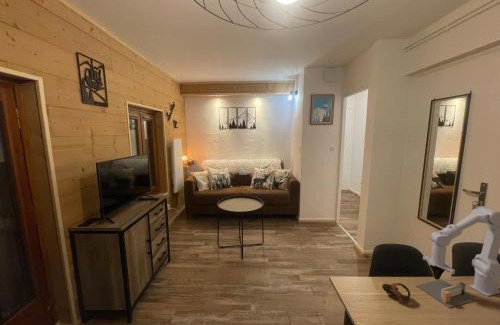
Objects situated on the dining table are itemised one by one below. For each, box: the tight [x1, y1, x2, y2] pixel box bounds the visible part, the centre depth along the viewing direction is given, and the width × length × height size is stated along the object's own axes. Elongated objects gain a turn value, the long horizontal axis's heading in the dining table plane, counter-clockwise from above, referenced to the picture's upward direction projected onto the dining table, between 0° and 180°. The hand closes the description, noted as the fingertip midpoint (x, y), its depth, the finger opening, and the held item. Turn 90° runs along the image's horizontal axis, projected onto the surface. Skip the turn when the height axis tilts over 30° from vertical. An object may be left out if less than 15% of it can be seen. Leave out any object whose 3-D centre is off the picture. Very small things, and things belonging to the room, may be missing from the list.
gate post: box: [459, 281, 466, 295], centre depth 113 cm, size 2×2×6 cm
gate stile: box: [442, 290, 451, 303], centre depth 108 cm, size 3×2×5 cm, turn 104°
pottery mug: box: [381, 282, 411, 304], centre depth 113 cm, size 12×10×8 cm
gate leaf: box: [441, 283, 462, 298], centre depth 111 cm, size 12×1×5 cm, turn 105°
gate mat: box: [416, 278, 477, 309], centre depth 114 cm, size 18×16×1 cm
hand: (437, 278), depth 119 cm, fingers closed
